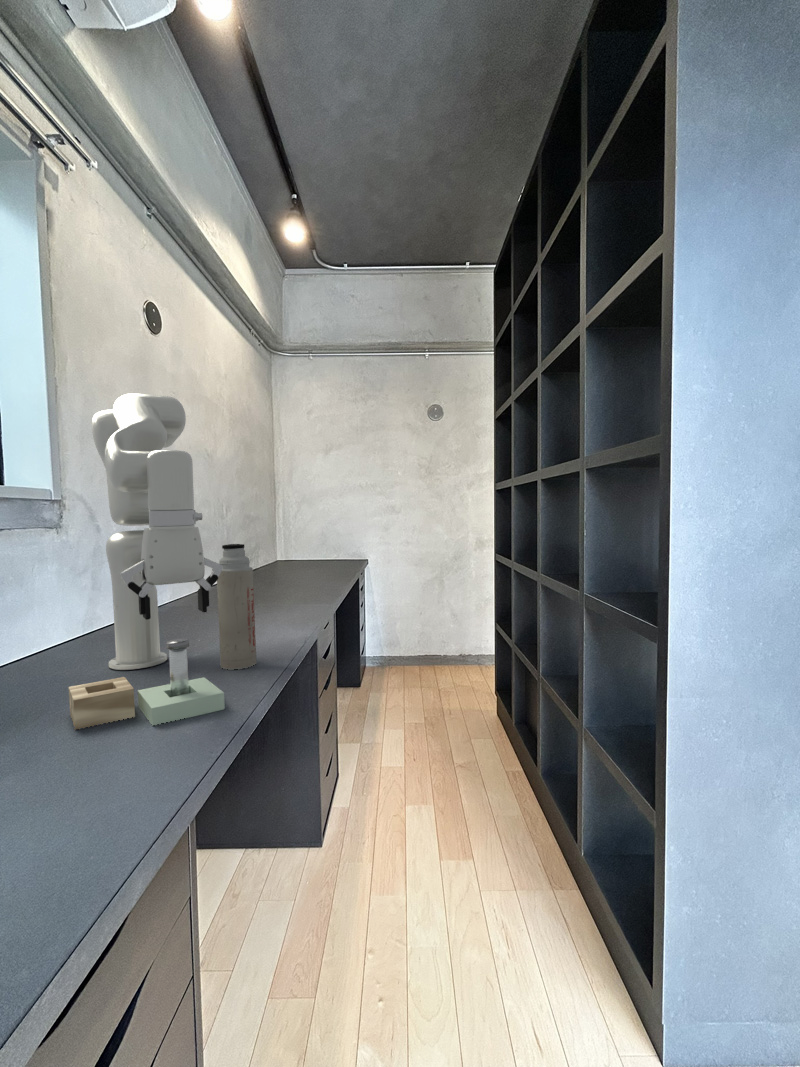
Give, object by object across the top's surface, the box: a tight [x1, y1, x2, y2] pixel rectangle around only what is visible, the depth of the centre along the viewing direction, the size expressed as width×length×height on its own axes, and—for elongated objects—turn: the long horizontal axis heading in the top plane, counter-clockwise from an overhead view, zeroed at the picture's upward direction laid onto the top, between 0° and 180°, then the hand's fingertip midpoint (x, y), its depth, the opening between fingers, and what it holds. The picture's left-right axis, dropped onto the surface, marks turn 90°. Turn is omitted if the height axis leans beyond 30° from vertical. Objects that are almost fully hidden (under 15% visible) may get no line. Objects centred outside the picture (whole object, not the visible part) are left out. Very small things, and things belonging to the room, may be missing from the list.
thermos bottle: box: [216, 543, 257, 671], centre depth 126 cm, size 8×8×28 cm
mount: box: [68, 676, 136, 731], centre depth 96 cm, size 9×9×5 cm
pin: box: [165, 638, 190, 697], centre depth 99 cm, size 4×4×12 cm
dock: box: [137, 676, 226, 727], centre depth 99 cm, size 12×12×3 cm
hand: (175, 614), depth 100 cm, fingers open, 9 cm apart
